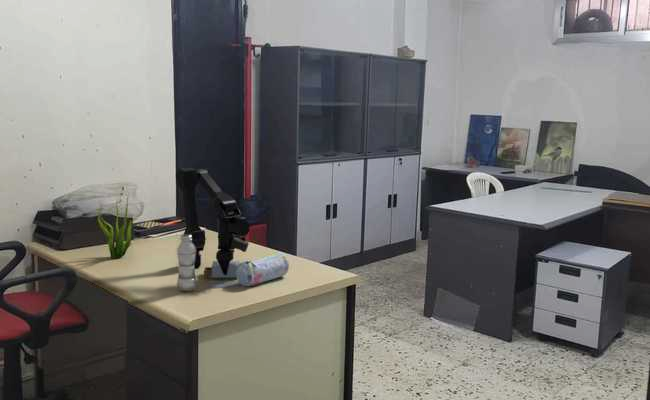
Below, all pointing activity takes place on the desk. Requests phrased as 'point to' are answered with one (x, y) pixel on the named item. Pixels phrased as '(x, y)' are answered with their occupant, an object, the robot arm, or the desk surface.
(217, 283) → the mat
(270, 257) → the pencil case
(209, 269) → the tray
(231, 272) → the cover
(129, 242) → the decorative plant
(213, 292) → the desk surface
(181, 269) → the plastic bottle
